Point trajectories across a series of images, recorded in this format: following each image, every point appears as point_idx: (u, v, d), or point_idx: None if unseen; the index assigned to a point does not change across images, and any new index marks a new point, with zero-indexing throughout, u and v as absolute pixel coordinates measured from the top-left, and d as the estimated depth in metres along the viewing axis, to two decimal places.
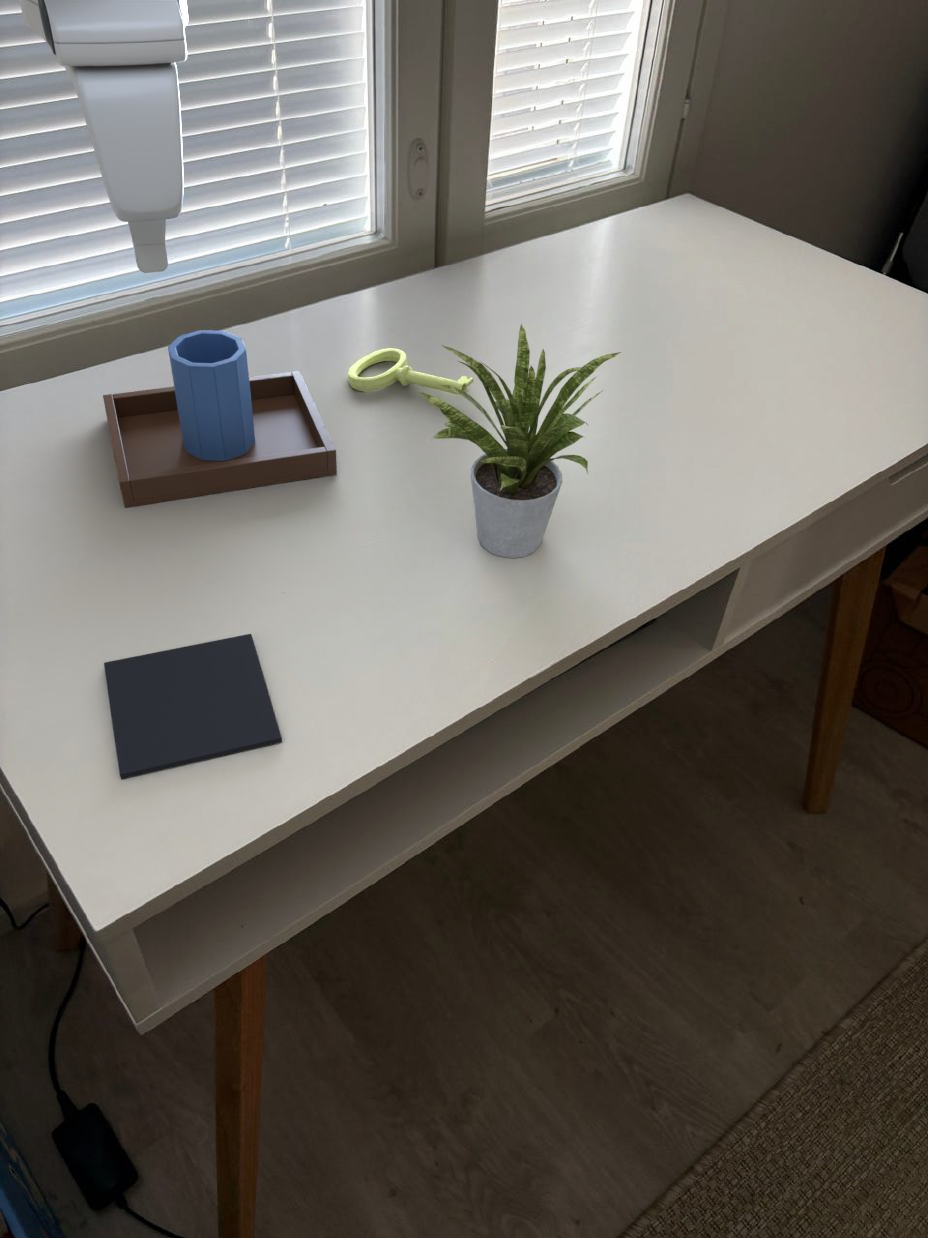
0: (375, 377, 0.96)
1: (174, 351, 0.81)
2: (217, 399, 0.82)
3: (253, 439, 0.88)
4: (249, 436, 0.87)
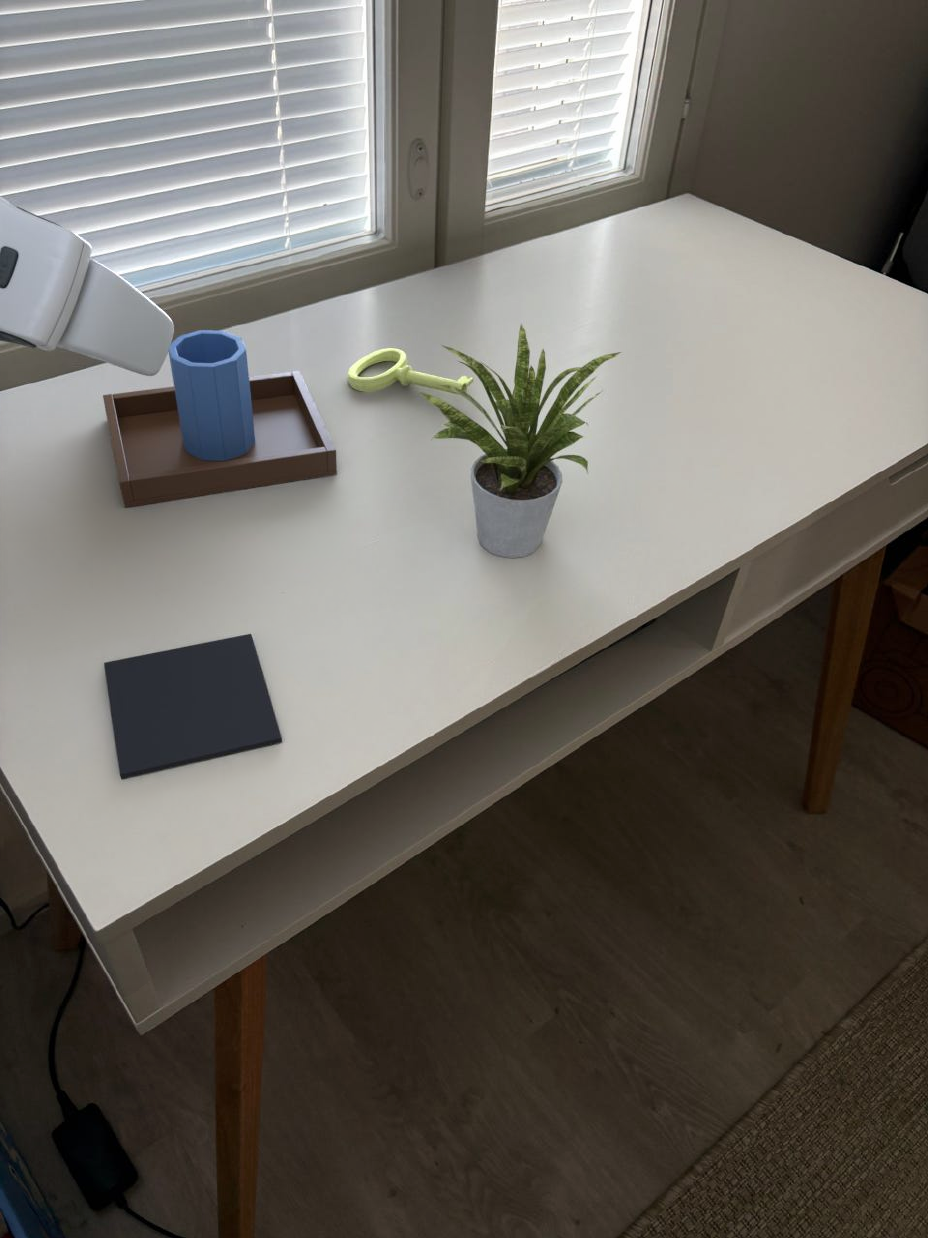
0: (375, 377, 0.96)
1: (174, 351, 0.81)
2: (217, 399, 0.82)
3: (253, 439, 0.88)
4: (249, 436, 0.87)
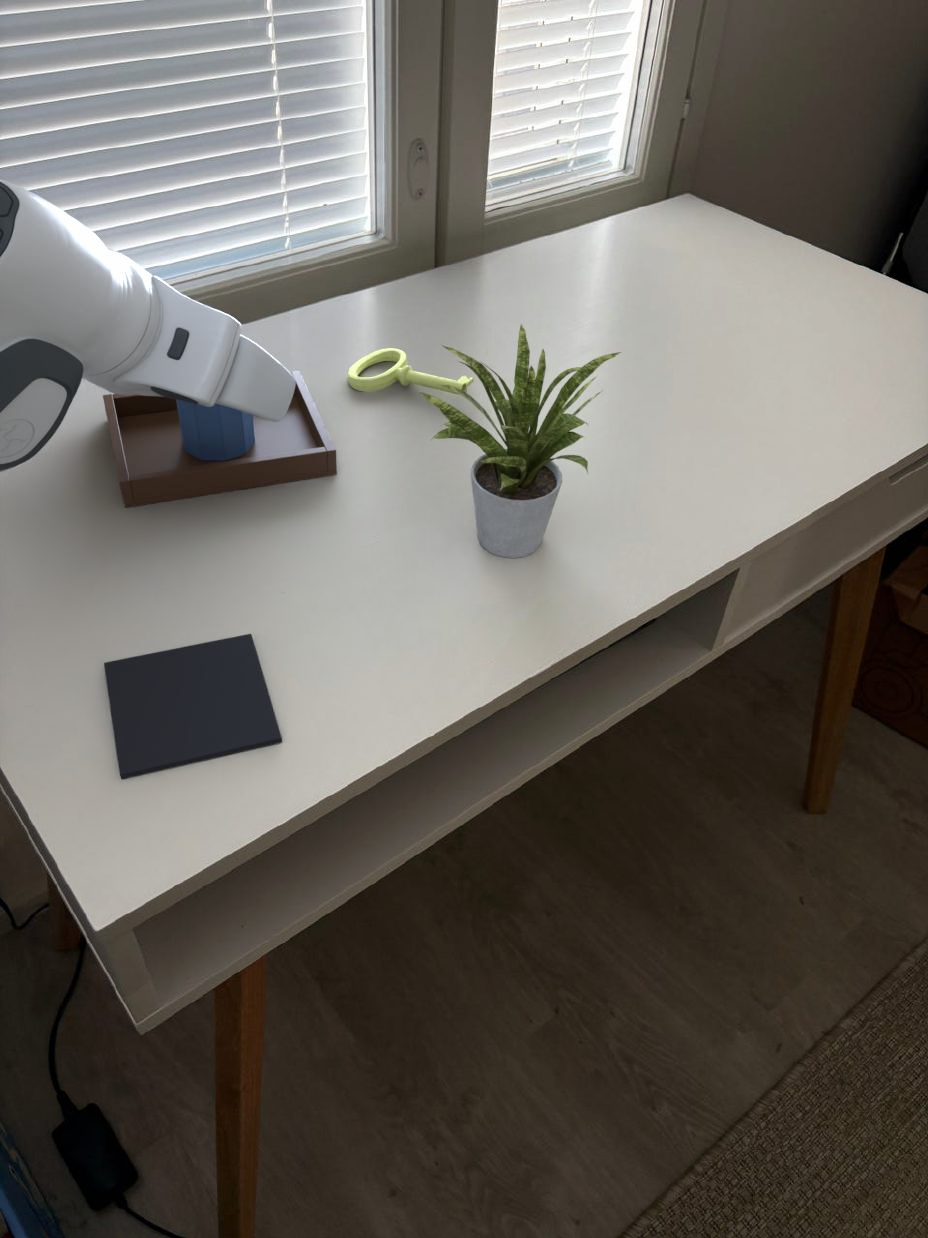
0: (375, 377, 0.96)
1: None
2: None
3: (253, 439, 0.88)
4: (249, 436, 0.87)
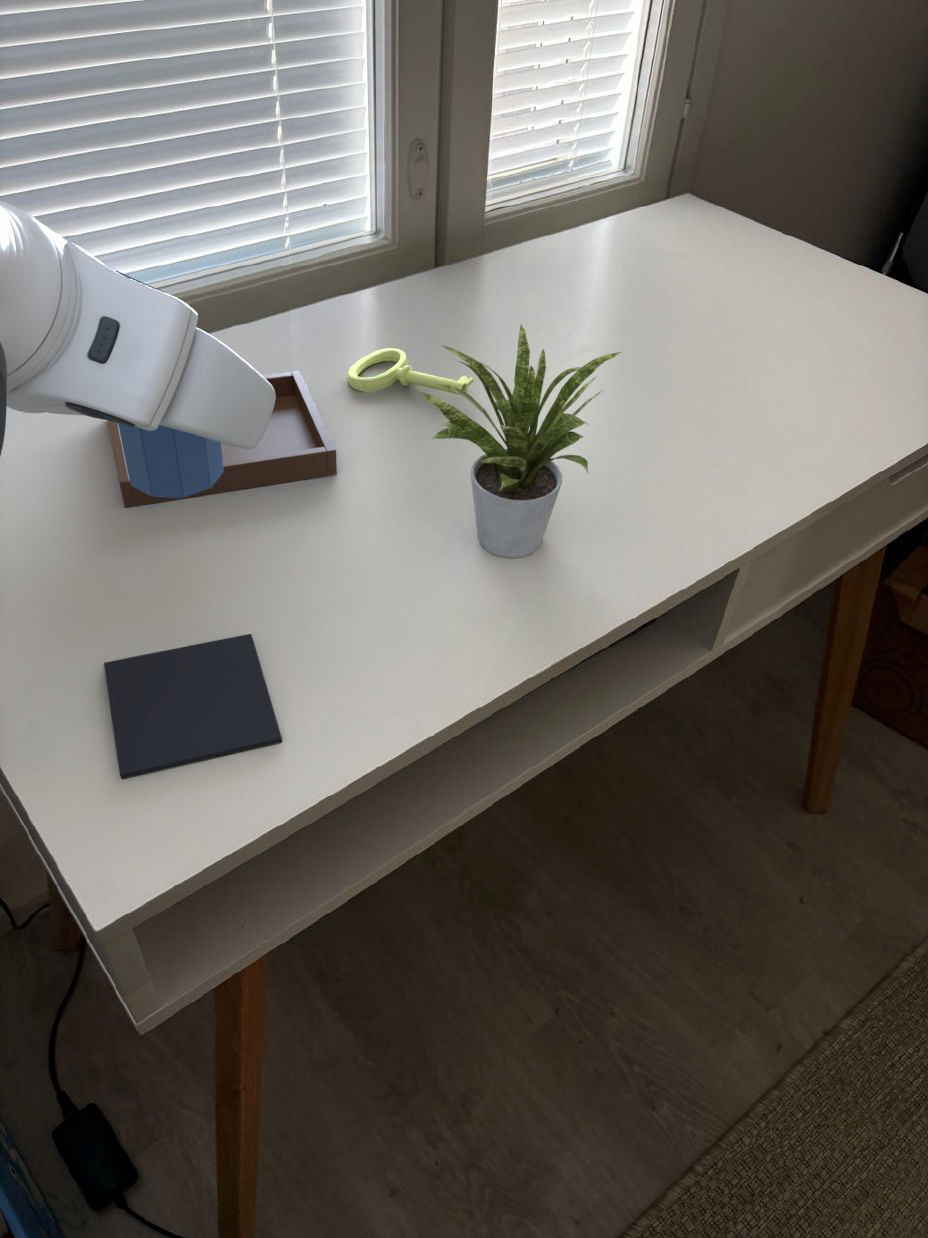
0: (375, 377, 0.96)
1: None
2: None
3: (221, 468, 0.66)
4: (215, 464, 0.65)
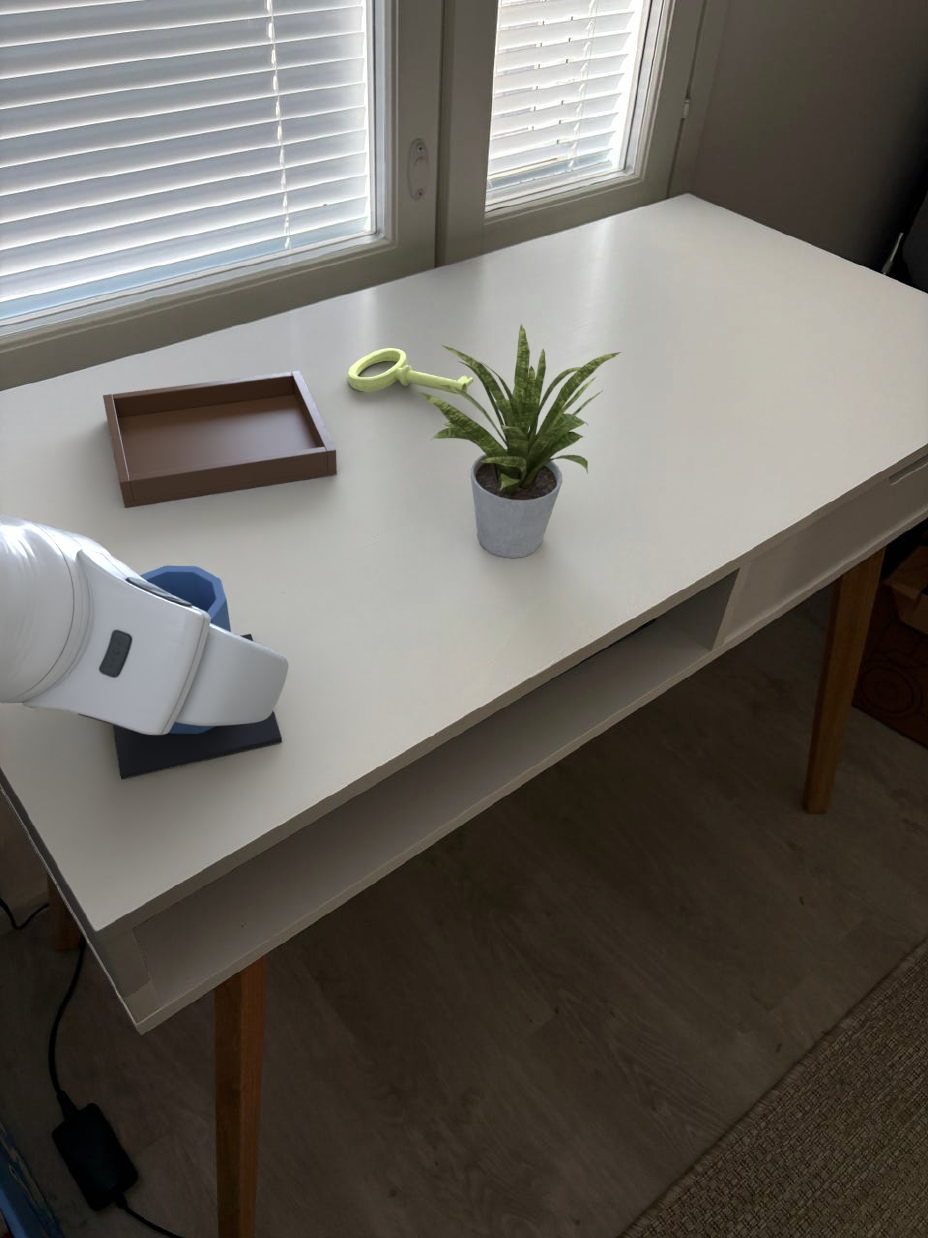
0: (375, 377, 0.96)
1: None
2: None
3: None
4: None
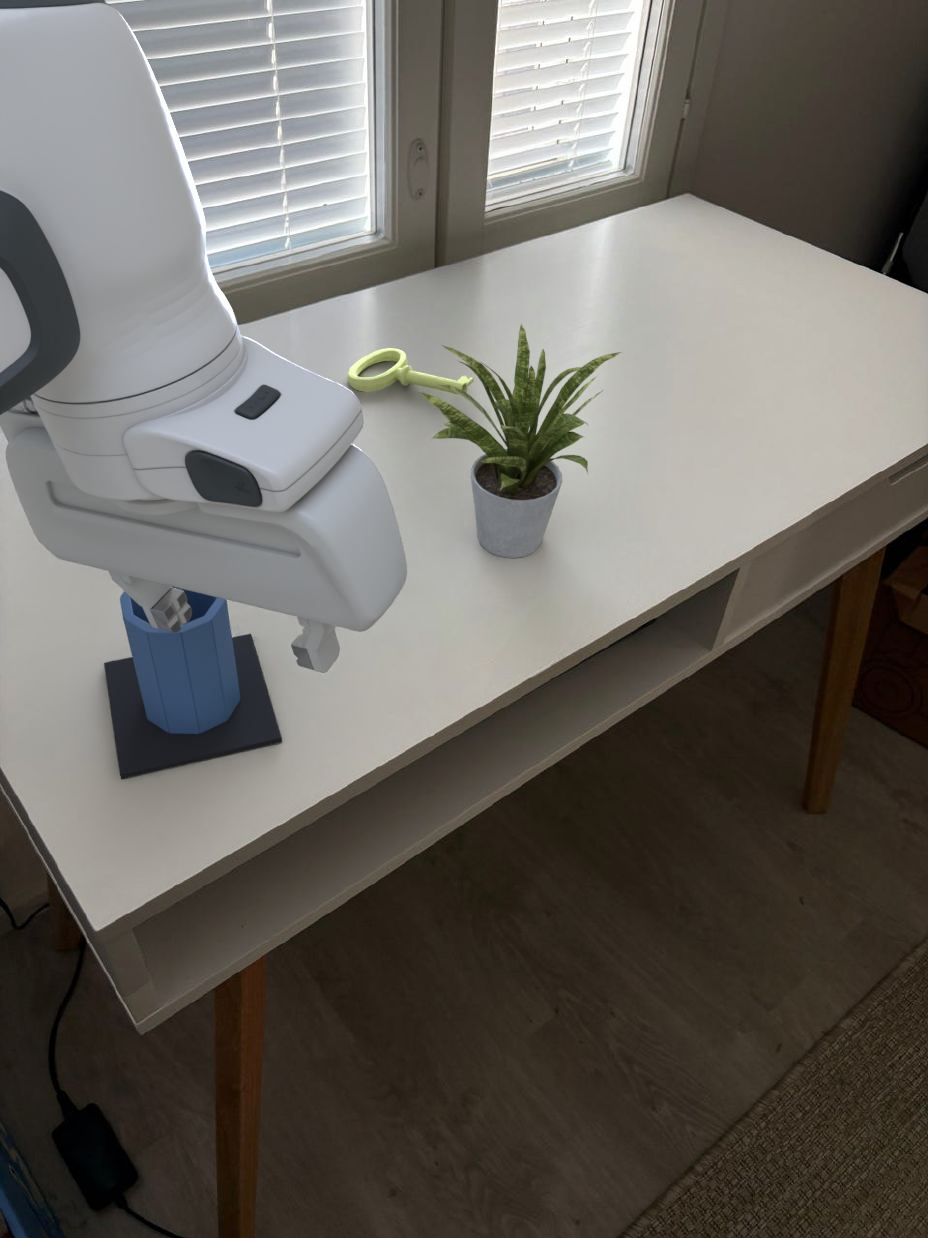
0: (375, 377, 0.96)
1: (128, 605, 0.60)
2: (187, 668, 0.60)
3: (237, 698, 0.66)
4: (232, 698, 0.65)
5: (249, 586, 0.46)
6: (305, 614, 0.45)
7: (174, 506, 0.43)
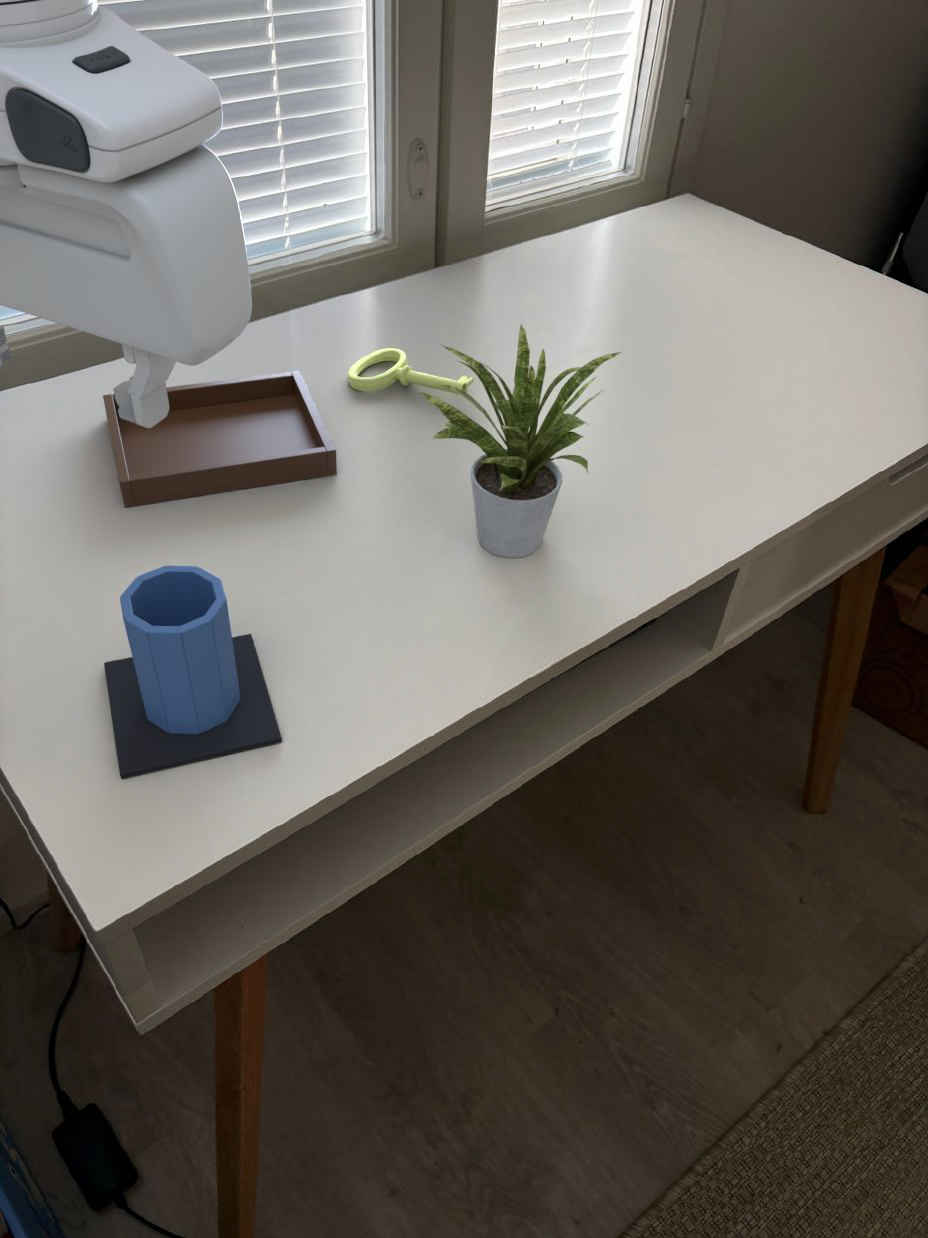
0: (375, 377, 0.96)
1: (128, 605, 0.60)
2: (187, 668, 0.60)
3: (237, 698, 0.66)
4: (232, 698, 0.65)
5: (71, 299, 0.41)
6: (129, 339, 0.41)
7: None
